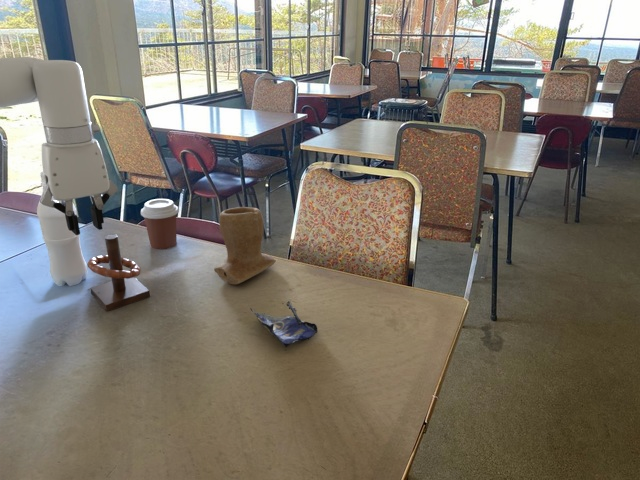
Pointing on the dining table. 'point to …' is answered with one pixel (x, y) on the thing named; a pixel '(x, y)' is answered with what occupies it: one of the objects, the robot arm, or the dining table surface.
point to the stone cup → (242, 244)
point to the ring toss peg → (118, 282)
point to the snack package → (287, 327)
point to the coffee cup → (160, 222)
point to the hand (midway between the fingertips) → (86, 229)
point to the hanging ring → (113, 273)
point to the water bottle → (61, 245)
